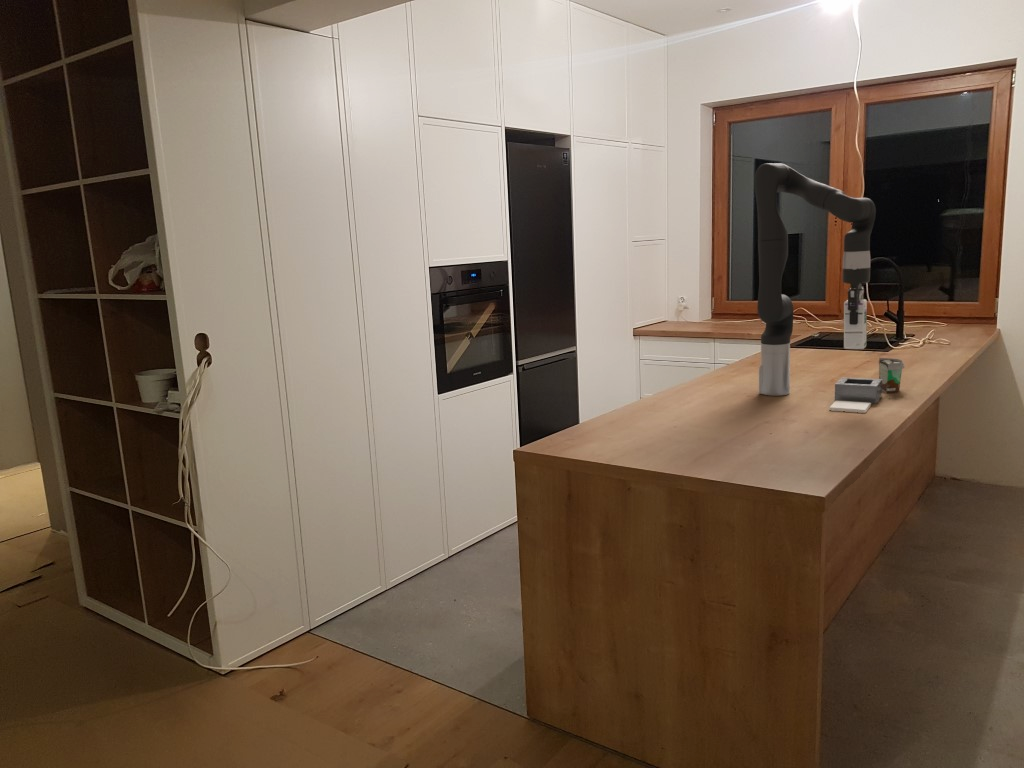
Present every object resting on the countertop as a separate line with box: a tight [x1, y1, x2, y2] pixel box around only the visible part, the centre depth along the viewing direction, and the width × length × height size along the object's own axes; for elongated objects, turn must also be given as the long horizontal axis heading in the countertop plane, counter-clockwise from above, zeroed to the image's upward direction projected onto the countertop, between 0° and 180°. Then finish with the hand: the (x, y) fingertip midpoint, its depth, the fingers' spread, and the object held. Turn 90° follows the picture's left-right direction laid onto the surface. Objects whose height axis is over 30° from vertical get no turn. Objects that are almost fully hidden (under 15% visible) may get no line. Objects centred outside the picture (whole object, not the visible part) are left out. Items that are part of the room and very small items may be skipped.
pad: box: [829, 400, 872, 414], centre depth 232 cm, size 10×10×1 cm
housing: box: [834, 376, 883, 405], centre depth 243 cm, size 12×12×6 cm
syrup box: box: [843, 298, 868, 350], centre depth 230 cm, size 6×6×14 cm
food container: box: [878, 357, 905, 394], centre depth 252 cm, size 12×6×10 cm, turn 168°
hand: (855, 322), depth 230 cm, fingers closed on syrup box, 5 cm apart
